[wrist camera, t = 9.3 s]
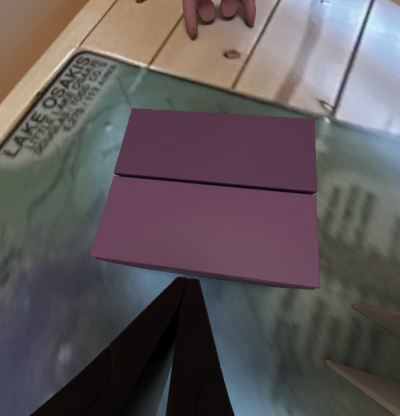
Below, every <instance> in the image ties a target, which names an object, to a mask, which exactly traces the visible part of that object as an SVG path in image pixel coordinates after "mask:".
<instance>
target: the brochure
mask: <svg viewBox="0 0 400 416" xmlns="http://www.w3.org/2000/svg"><path fill="white" fill-rule="evenodd" d="M352 307H353V308H354V309H356V310H358V311H359V312H361V313H362V314H364V315H365V316H367V317H368V318H370V319H371V320H373V321H374V322H376V323H377V324H379V325H380V326H382V327H383V328H385V329H386V330H388V331H390V332H391V333H393V334H394V335H396V336H397V337H399V338H400V311H396V310H389V309H383V308H376V307H370V306H363V305H357V304H353V306H352ZM325 364H327V365H328V366H330V367H331V368H332V369H334V370H335V371H336V372H338V373H339V374H340V375H342V376H343V377H344V378H346V379H347V380H348V381H350V382H351V383H352V384H354V385H355V386H356V387H358V388H359V389H361V390H362V391H363V392H365V393H366V394H367V395H369V396H370V397H371V398H373V399H374V400H375V401H377V402H378V403H379V404H381V405H382V406H383V407H385V408H386V409H388V410H389V411H390V412H392V413H393V414H394V415H396V416H400V383H399V382H396V381H393V380H390V379H387V378H384V377H380V376H377V375H374V374H371V373H368V372H365V371H362V370H358V369H355V368H352V367H349V366H346V365H343V364H340V363H336V362H333V361H330V360H327V359H325Z"/></svg>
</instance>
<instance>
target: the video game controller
mask: <svg viewBox="0 0 400 416" xmlns="http://www.w3.org/2000/svg"><path fill="white" fill-rule="evenodd" d="M239 2H240V3H241V5H242V7H243V10H244V14H245V18H246V20H247V23H248V24H249V25H250V26H251V25H253V23H254V20H255V14H256V6H255V0H221V4H220V9H221V13H222V15H224V16H225V17H231V16H233V15H234V13H235V11H236V8H237V5H238V3H239ZM182 4H183V12H184V16H185V20H186V24H187V28H188V31H189V34H190V36H191V37H192V38H195V36H196V32H197V19H196V12H197V13H198V14H199V16H200V18H201V19H202V20H203V21H206V22H208V21H210V20H212V19H213V17H214V15H215V7H214V4H213V2H212V1H211V0H182Z"/></svg>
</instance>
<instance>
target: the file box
mask: <svg viewBox="0 0 400 416" xmlns="http://www.w3.org/2000/svg"><path fill="white" fill-rule="evenodd" d="M114 173H115V174H116V175H119V176H120V177H130V178H141V179H151V180H162V181H172V182H183V183H193V184H204V185H214V186H225V187H235V188H246V189H256V190H267V191H277V192H288V193H298V194H309V195H312V194H315V193H316V192H317V180H316V150H315V120H314V119H304V118H287V117H270V116H253V115H236V114H219V113H203V112H186V111H169V110H152V109H135V108H132V111H131V114H130V118H129V121H128V125H127V128H126V132H125V135H124V139H123V142H122V146H121V149H120V153H119V156H118V159H117V163H116V166H115V170H114ZM96 259H98V260H103V261H108V262H113V263H118V264H122V265H127V266H132V267H137V268H143V269H150V270H157V271H164V272H171V273H179V274H186V275H193V276H200V277H207V278H214V279H221V280H228V281H235V282H242V283H249V284H256V285H263V286H270V287H280V288H296V289H312V290H314V289H315V288H310V287H303V286H296V285H289V284H282V283H274V282H267V281H260V280H253V279H246V278H238V277H231V276H224V275H217V274H210V273H202V272H195V271H188V270H181V269H174V268H167V267H159V266H152V265H145V264H138V263H131V262H123V261H116V260H109V259H102V258H96Z"/></svg>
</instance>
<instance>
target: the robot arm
mask: <svg viewBox="0 0 400 416" xmlns="http://www.w3.org/2000/svg"><path fill="white" fill-rule="evenodd" d="M172 362H173V363H172ZM171 365H172V371H171V379H170V387H169V395H168V403H167V411H166V416H235V415H234V412H233V409H232V406H231V403H230V400H229V396H228V392H227V389H226V385H225V382H224V378H223V374H222V370H221V367H220V362H219V358H218V354H217V350H216V346H215V342H214V338H213V334H212V330H211V325H210V321H209V317H208V313H207V309H206V305H205V301H204V297H203V293H202V289H201V285H200V281H199V280H198V279H193V278H189V279H188V278H186V277H177V278H176V279H175V280H174V281H173V282H172V283H171V284H170V285H169V286H168V287H167V288H166V289H165V290H164V291H163V292H162V293H161V294H160V295H159V296H158V297H157V298H156V299H155V300H154V301H153V302H152V303H151V304H150V305H149V306H148V307H147V308H146V309H145V310H144V311H143V312H141V313H140V314H139V315H138V316H137V317H136V318H135V319H134V320H133V321H132V322H131V323H130V324H129V325H128V326H127V327H126V328H125V329H124V330H123V331H122V332H121V333H120V334H119V335H118V336H117V337H116V338H115V339H114V340H113V341H112V342H111V343H110V345H109V346H107V347H106V348H105V349H104V350H103V351H102V352H101V353H100V354H99V355H98V356H97V357H96V358H95V359H94V360H93V361H92V362H91V363H90V364H89V365H88V366H87V367H86V368H85V369H84V370H83V371H81V372H80V373H79V374H78V375H77V376H76V377H75V378H73V379H72V380H71V381H70V382H69V383H68V384H67V385H65V386H64V387H63V388H62V389H61V390H60V391H58V392H57V393H56V394H55V395H54V396H52V397H51V398H50V399H49V400H48V401H47V402H45V403H44V404H43V405H42V406H41V407H39V408H38V409H37V410H36V411H35V412H33V413H32V414H31V415H30V416H156V413H157V410H158V407H159V403H160V400H161V397H162V394H163V391H164V387H165V384H166V381H167V378H168V375H169V371H170V368H171Z"/></svg>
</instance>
